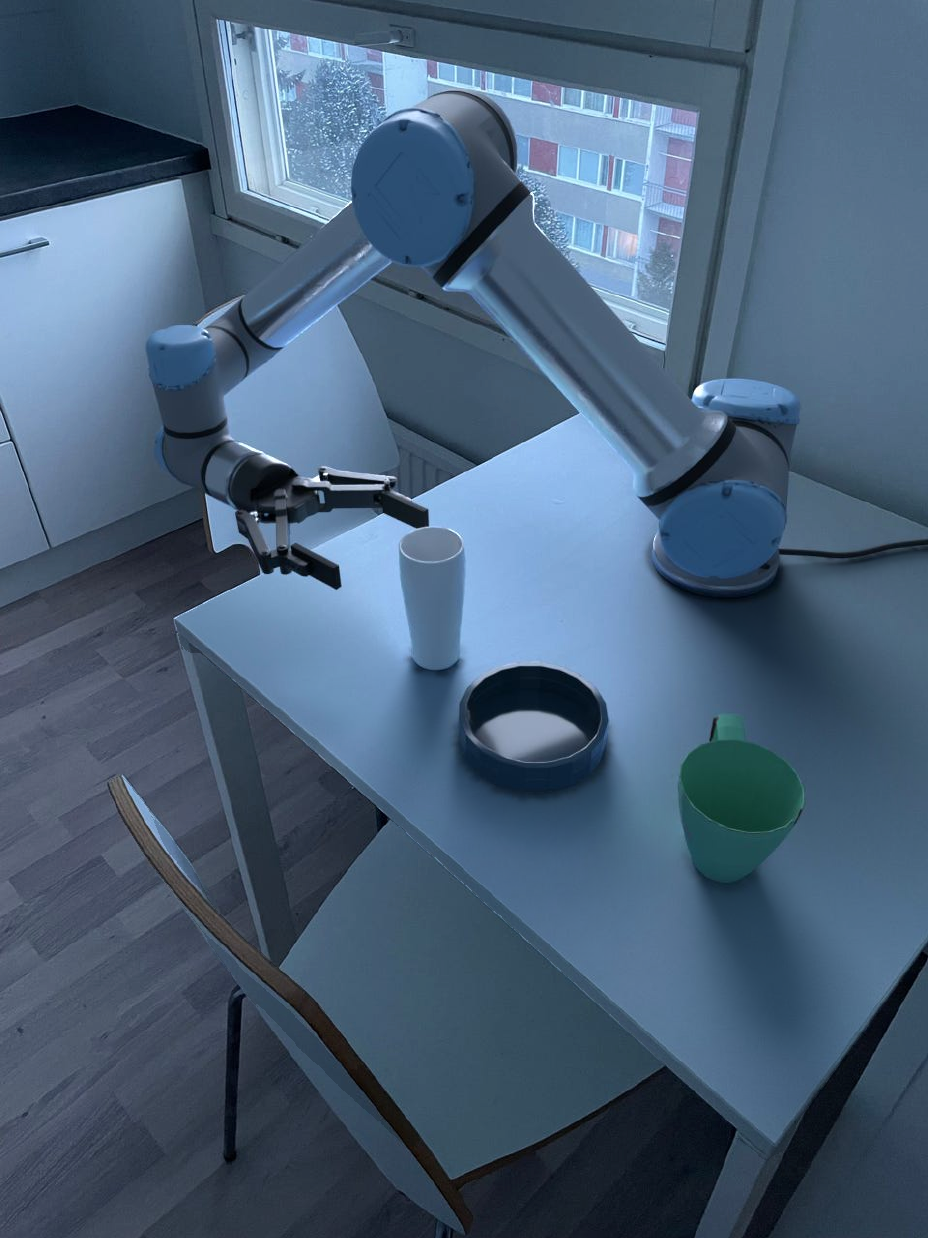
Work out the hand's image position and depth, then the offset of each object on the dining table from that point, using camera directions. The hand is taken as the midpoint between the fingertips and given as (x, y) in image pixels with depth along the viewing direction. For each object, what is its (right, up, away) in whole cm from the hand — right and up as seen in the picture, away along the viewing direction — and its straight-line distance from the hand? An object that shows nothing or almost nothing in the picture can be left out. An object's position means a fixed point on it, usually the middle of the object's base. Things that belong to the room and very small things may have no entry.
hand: (384, 548), depth 95 cm
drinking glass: (+5, -12, +4) cm, 13 cm away
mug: (+31, -27, -15) cm, 44 cm away
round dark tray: (+15, -19, -6) cm, 25 cm away
